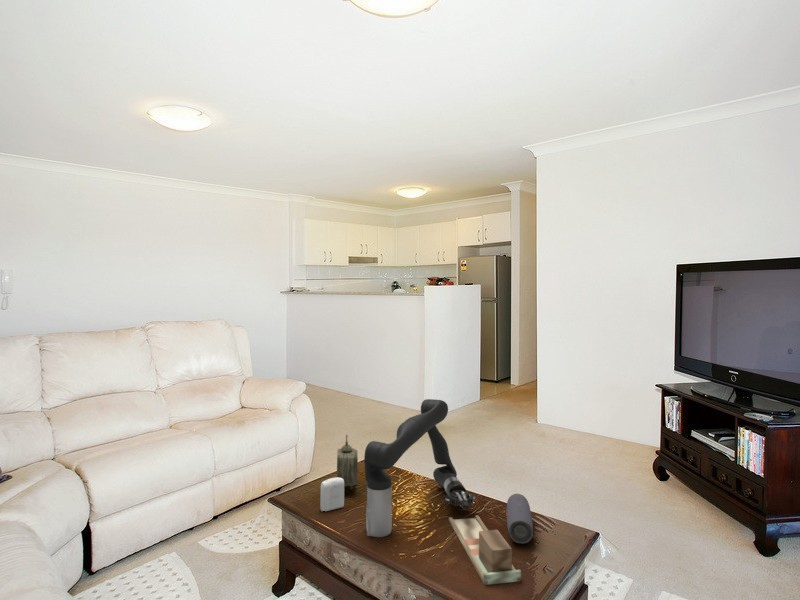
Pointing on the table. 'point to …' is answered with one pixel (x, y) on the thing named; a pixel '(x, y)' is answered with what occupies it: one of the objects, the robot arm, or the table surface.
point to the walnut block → (494, 551)
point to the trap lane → (470, 541)
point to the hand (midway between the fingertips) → (466, 507)
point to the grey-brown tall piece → (347, 465)
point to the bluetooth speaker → (519, 519)
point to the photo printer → (332, 494)
